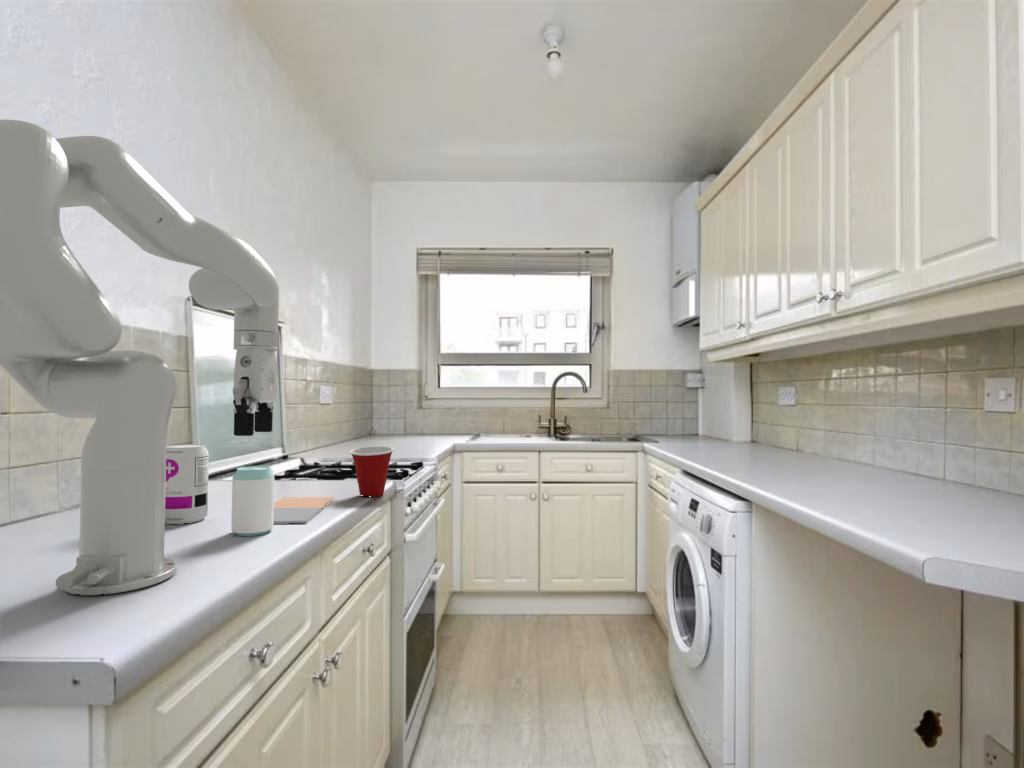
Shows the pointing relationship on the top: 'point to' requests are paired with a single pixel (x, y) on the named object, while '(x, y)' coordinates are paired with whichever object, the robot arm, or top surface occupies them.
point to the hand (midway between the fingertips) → (254, 433)
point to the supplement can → (186, 483)
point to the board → (298, 509)
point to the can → (252, 500)
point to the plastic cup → (372, 469)
